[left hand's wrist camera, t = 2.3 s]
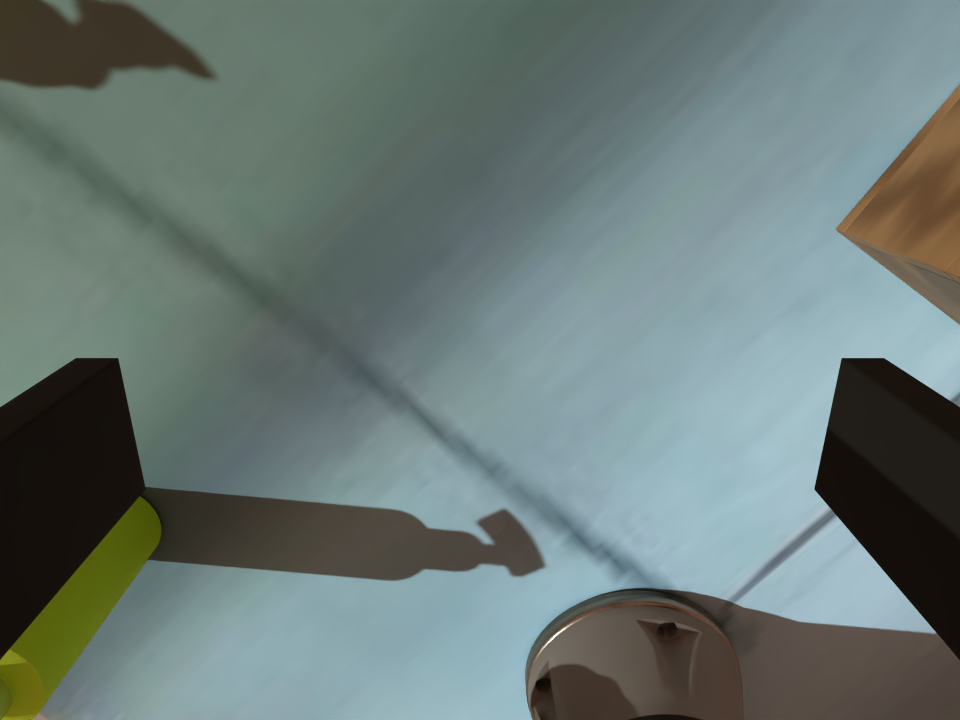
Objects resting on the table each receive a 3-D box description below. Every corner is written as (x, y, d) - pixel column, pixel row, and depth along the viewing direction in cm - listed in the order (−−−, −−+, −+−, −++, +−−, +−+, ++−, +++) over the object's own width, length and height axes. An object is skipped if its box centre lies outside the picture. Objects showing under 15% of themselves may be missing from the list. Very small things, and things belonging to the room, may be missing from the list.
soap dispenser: (113, 459, 43) (-165, 740, 24) (179, 539, 45) (-30, 851, 27) (42, 496, 44) (-278, 792, 25) (110, 572, 46) (-137, 894, 28)
